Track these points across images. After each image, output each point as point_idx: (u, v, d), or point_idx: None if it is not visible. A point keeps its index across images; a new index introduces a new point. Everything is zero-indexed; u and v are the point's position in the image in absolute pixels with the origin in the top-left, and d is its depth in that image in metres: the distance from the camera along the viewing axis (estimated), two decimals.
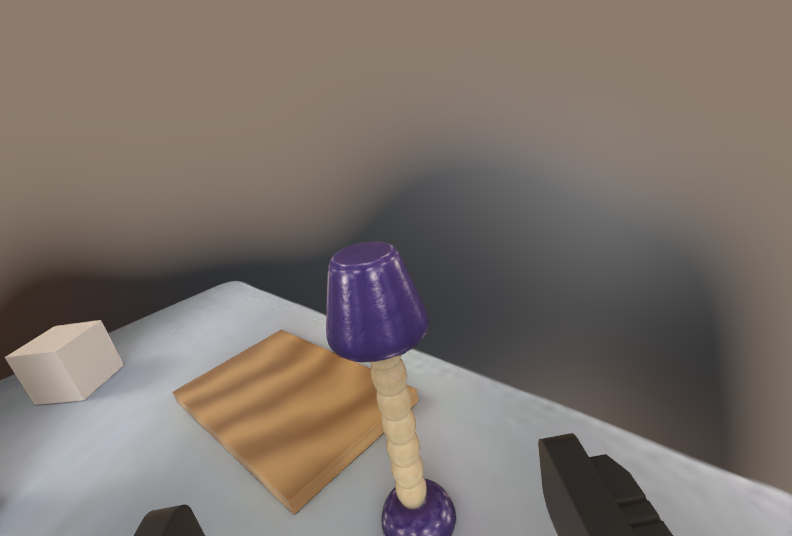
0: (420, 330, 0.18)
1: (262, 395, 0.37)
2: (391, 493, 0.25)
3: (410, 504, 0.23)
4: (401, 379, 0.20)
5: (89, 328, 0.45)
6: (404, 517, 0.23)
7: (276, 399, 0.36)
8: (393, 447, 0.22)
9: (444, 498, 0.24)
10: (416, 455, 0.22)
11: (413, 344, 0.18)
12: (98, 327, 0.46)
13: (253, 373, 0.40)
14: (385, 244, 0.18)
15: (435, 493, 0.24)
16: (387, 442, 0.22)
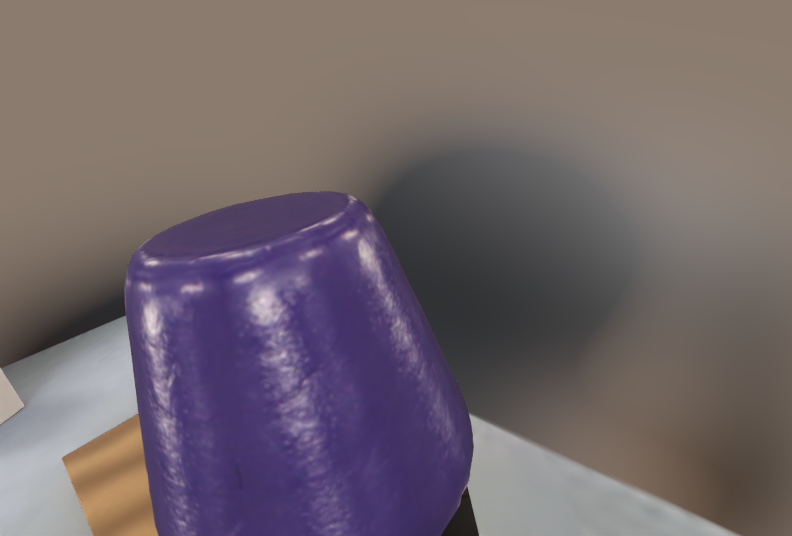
0: (454, 482, 0.05)
1: None
2: None
3: None
4: None
5: None
6: None
7: None
8: None
9: None
10: None
11: None
12: None
13: None
14: (334, 195, 0.06)
15: None
16: None
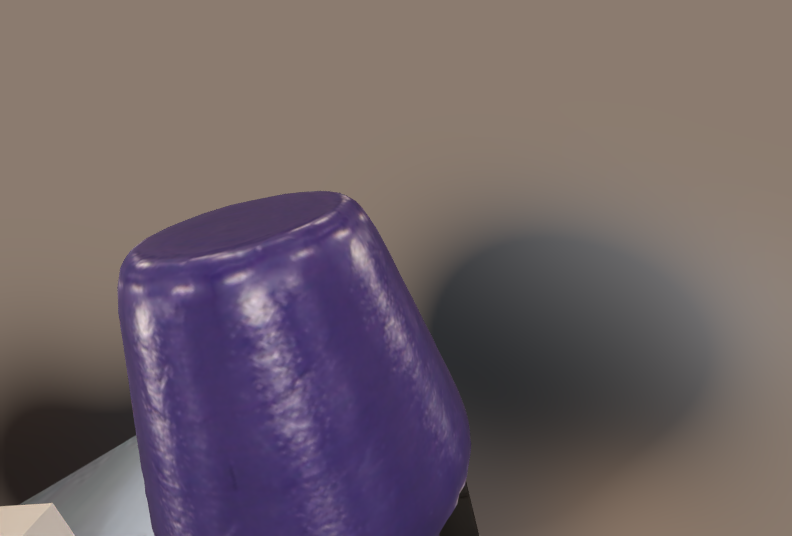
0: (451, 481, 0.05)
1: None
2: None
3: None
4: None
5: (32, 525, 0.29)
6: None
7: None
8: None
9: None
10: None
11: None
12: (48, 517, 0.30)
13: None
14: (327, 194, 0.06)
15: None
16: None
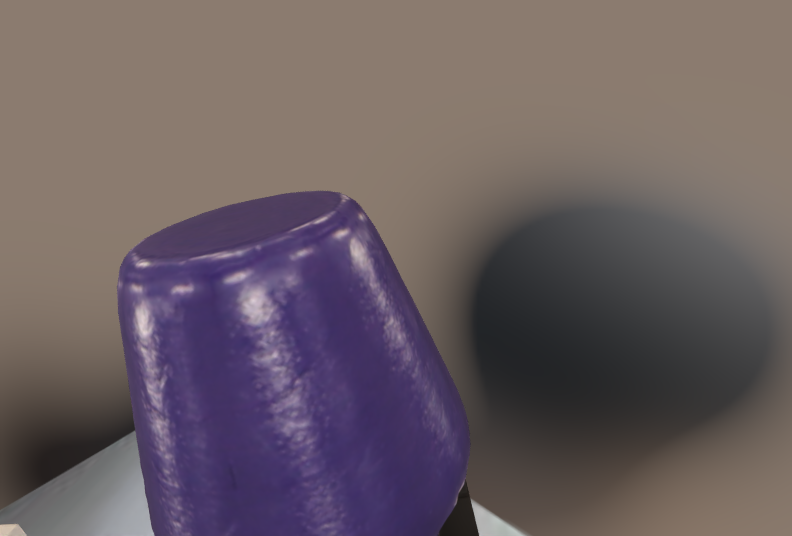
0: (450, 480, 0.05)
1: None
2: None
3: None
4: None
5: None
6: None
7: None
8: None
9: None
10: None
11: None
12: None
13: None
14: (327, 194, 0.06)
15: None
16: None
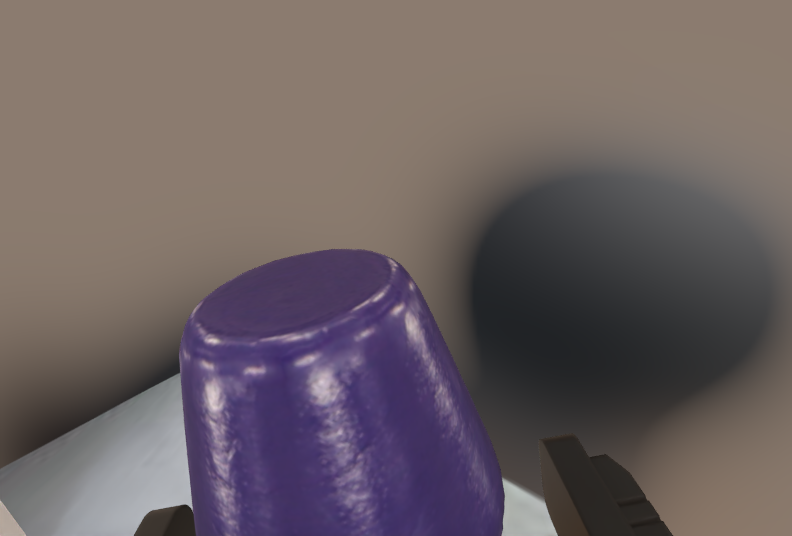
0: None
1: None
2: None
3: None
4: None
5: None
6: None
7: None
8: None
9: None
10: None
11: None
12: None
13: None
14: (373, 257, 0.06)
15: None
16: None
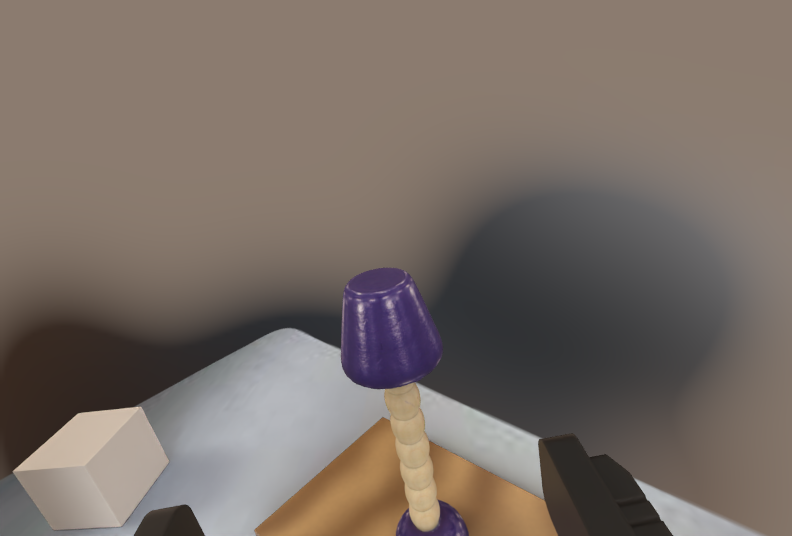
0: (435, 356, 0.18)
1: None
2: (404, 515, 0.25)
3: (424, 527, 0.23)
4: (416, 404, 0.20)
5: (127, 421, 0.33)
6: None
7: None
8: (407, 471, 0.22)
9: (457, 520, 0.24)
10: (430, 478, 0.22)
11: (428, 370, 0.18)
12: (138, 418, 0.34)
13: (369, 502, 0.28)
14: (399, 270, 0.19)
15: (448, 515, 0.24)
16: (401, 466, 0.22)
